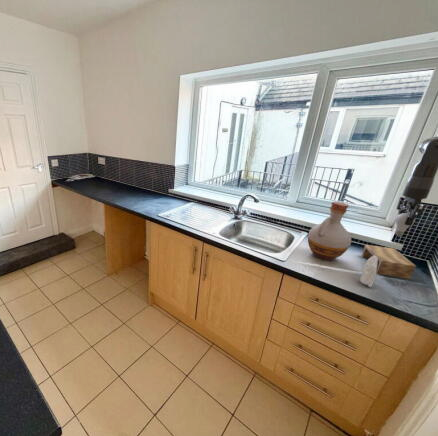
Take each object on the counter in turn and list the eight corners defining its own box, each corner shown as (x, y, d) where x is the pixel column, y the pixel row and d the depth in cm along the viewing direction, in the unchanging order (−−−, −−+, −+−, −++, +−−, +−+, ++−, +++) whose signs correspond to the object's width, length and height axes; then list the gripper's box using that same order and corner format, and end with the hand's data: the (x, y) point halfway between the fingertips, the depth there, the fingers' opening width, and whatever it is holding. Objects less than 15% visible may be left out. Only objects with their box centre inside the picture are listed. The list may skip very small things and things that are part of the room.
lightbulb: (411, 238, 110) (421, 216, 106) (397, 238, 110) (407, 215, 106) (398, 232, 116) (407, 211, 112) (385, 232, 116) (394, 211, 112)
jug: (327, 270, 117) (347, 212, 105) (293, 252, 132) (307, 200, 120) (351, 261, 124) (372, 206, 113) (316, 245, 139) (332, 195, 128)
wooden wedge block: (389, 260, 126) (394, 248, 123) (409, 279, 110) (416, 265, 107) (361, 256, 130) (365, 244, 127) (376, 273, 114) (382, 260, 111)
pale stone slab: (360, 271, 114) (369, 251, 110) (372, 274, 112) (381, 254, 108) (359, 283, 106) (368, 262, 102) (372, 287, 104) (381, 265, 99)
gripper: (441, 190, 97) (424, 229, 103) (419, 183, 110) (405, 218, 115) (417, 189, 100) (401, 226, 105) (397, 182, 112) (385, 216, 118)
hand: (403, 222), depth 110 cm, fingers closed on lightbulb, 6 cm apart
